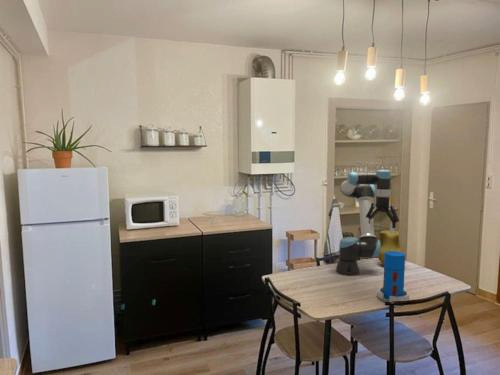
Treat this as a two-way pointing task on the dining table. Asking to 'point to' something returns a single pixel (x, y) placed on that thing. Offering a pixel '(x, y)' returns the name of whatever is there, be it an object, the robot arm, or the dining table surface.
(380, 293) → the bayonet base
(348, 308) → the dining table surface
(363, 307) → the dining table surface
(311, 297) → the dining table surface
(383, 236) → the pitcher
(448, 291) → the dining table surface
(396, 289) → the thermos
